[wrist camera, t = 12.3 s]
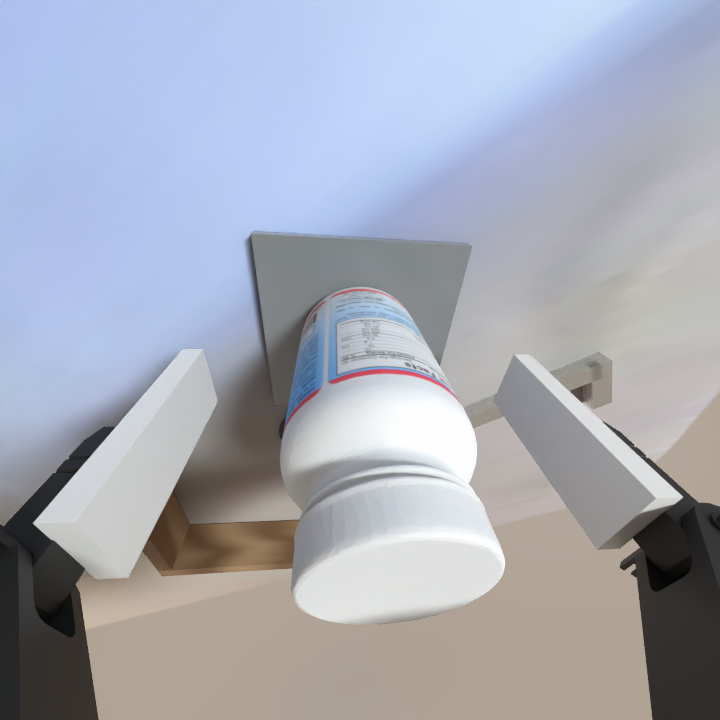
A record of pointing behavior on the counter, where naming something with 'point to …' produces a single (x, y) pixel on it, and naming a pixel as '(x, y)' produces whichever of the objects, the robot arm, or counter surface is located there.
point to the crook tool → (585, 373)
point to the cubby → (217, 544)
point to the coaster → (345, 270)
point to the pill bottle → (380, 471)
